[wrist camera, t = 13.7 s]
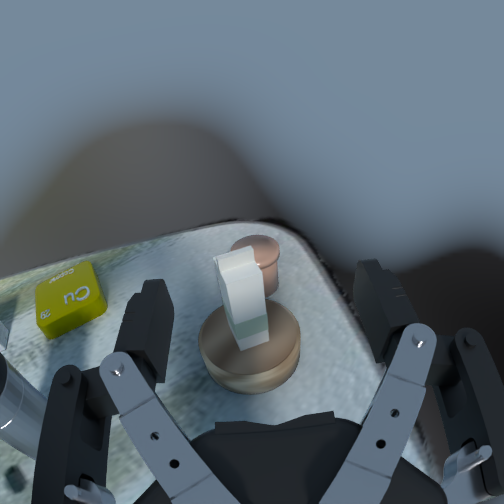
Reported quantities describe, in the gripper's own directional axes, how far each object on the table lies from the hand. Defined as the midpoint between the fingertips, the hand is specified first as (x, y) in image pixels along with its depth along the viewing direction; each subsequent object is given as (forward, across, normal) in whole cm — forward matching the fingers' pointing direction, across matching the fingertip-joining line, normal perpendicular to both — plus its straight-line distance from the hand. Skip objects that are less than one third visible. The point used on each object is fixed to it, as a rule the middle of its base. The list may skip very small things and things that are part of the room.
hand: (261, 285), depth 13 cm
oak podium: (+17, +2, +30) cm, 34 cm away
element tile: (+30, +39, +31) cm, 58 cm away
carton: (+17, +2, +25) cm, 30 cm away
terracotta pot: (+32, 0, +30) cm, 44 cm away
